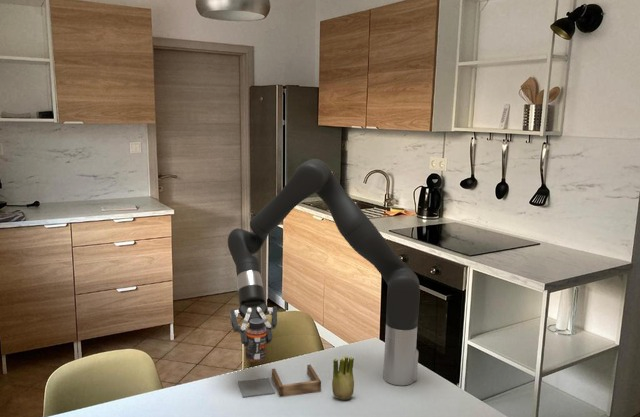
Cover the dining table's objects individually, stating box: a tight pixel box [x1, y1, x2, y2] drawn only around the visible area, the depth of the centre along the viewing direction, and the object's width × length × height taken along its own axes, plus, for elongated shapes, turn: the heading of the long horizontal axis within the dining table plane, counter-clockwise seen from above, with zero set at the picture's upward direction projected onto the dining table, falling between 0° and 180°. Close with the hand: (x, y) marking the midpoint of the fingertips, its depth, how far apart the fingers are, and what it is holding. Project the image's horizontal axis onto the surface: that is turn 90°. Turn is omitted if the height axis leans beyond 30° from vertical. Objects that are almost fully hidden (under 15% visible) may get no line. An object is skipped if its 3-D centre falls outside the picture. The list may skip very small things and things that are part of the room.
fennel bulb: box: [331, 355, 355, 401], centre depth 148 cm, size 6×5×12 cm
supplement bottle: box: [244, 318, 267, 363], centre depth 151 cm, size 6×6×11 cm
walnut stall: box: [271, 364, 322, 398], centre depth 155 cm, size 12×11×3 cm
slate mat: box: [237, 377, 276, 399], centre depth 153 cm, size 9×9×1 cm
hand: (257, 343), depth 149 cm, fingers closed on supplement bottle, 6 cm apart
